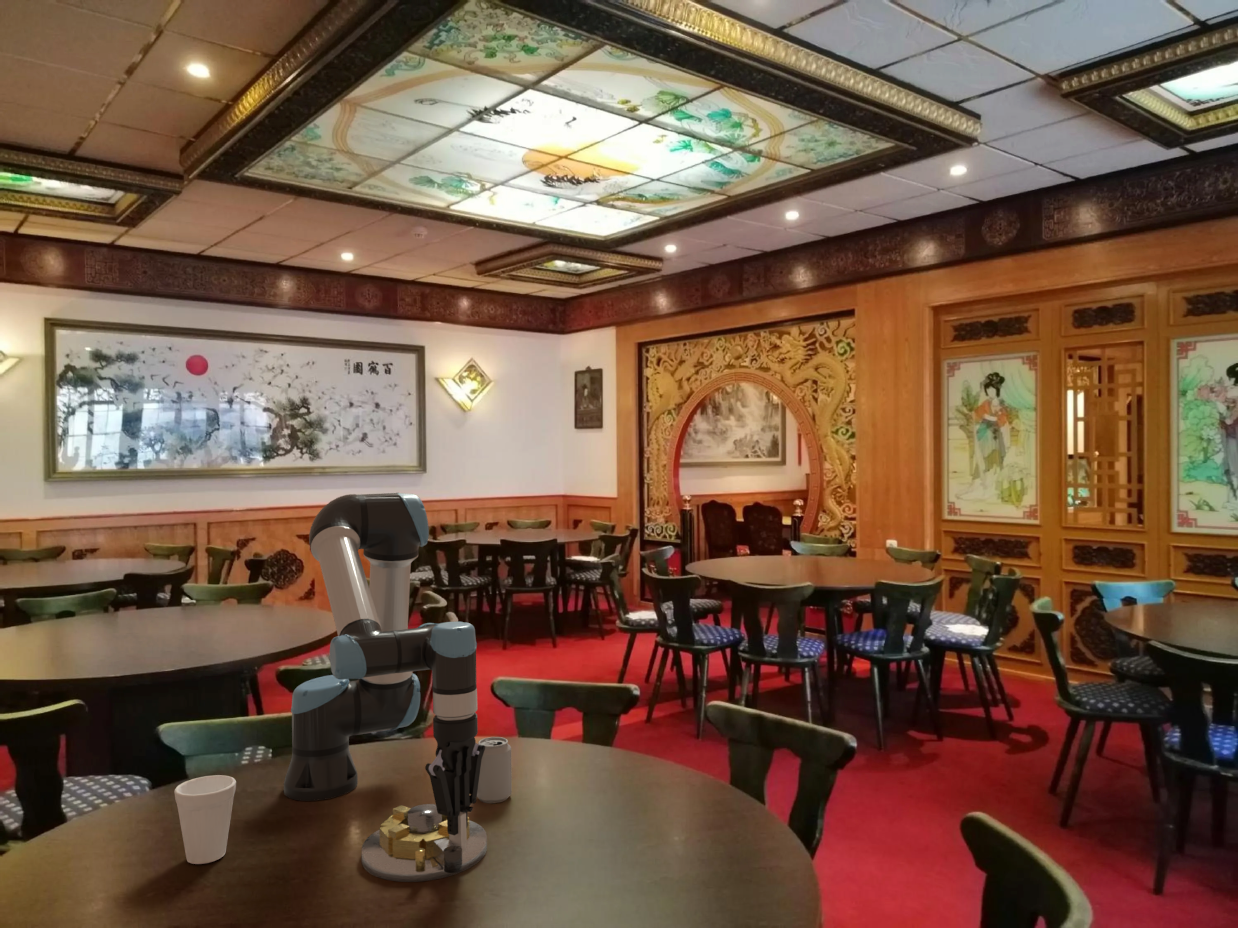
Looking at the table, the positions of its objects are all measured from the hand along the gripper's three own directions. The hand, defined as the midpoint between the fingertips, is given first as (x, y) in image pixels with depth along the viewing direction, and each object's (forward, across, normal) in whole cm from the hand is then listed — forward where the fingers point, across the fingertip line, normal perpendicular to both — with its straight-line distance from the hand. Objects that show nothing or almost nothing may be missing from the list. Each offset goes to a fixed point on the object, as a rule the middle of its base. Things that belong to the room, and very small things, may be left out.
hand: (458, 849), depth 148 cm
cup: (+3, +19, -42) cm, 46 cm away
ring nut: (+1, 0, -6) cm, 6 cm away
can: (+4, -28, -15) cm, 32 cm away
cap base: (+3, -2, -10) cm, 10 cm away
